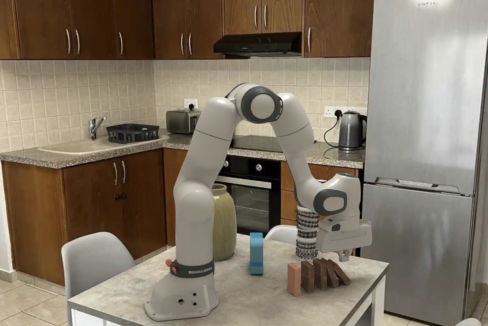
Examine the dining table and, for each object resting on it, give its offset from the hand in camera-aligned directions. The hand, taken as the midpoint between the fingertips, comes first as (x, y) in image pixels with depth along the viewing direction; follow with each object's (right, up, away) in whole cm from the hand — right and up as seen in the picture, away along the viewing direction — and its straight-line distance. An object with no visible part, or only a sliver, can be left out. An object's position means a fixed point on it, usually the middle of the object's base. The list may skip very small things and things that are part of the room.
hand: (343, 261), depth 164 cm
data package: (-29, -6, +13) cm, 32 cm away
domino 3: (-8, -8, -2) cm, 12 cm away
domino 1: (-17, -9, -6) cm, 20 cm away
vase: (-45, -3, +26) cm, 52 cm away
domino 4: (-4, -7, 0) cm, 8 cm away
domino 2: (-13, -9, -4) cm, 16 cm away
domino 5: (+1, -7, +2) cm, 7 cm away
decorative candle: (-9, -3, +23) cm, 25 cm away
